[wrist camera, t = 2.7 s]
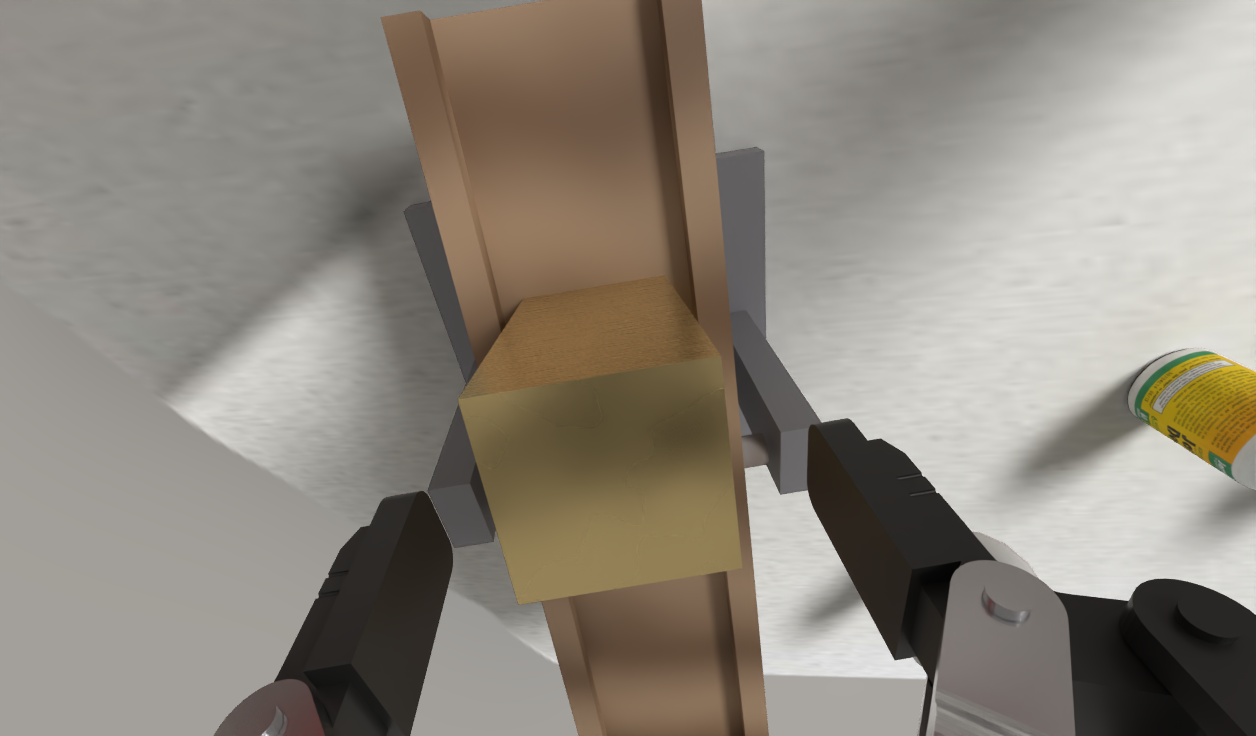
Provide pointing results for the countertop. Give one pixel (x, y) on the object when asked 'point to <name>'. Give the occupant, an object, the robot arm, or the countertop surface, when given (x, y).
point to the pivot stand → (759, 372)
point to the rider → (604, 442)
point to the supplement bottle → (1202, 408)
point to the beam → (588, 257)
